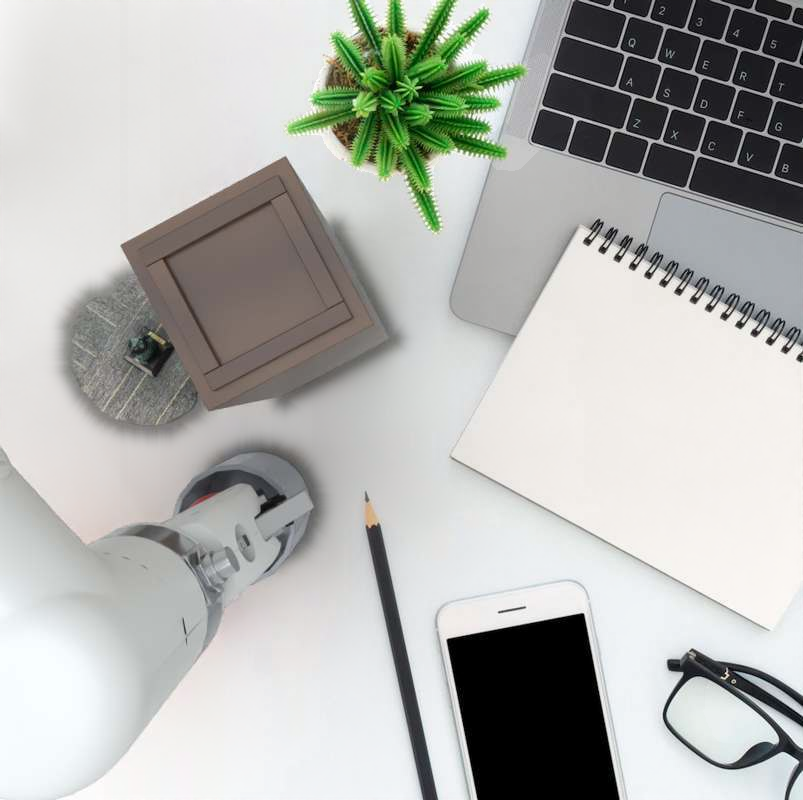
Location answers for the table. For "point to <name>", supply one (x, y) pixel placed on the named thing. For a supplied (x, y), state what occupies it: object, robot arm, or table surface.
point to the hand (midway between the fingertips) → (226, 532)
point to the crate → (255, 290)
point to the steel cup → (259, 474)
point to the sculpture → (129, 359)
